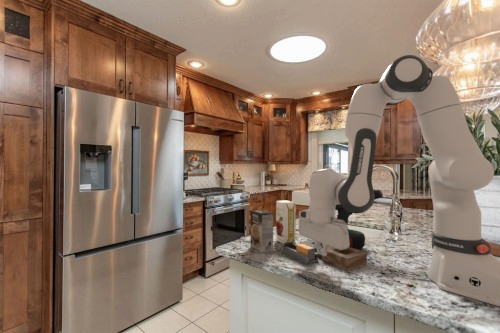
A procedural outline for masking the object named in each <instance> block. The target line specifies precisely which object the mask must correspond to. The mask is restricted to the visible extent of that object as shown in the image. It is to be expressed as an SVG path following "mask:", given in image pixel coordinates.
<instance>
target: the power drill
mask: <svg viewBox="0 0 500 333" xmlns="http://www.w3.org/2000/svg"><path fill="white" fill-rule="evenodd" d="M373 190H374V195H375V198H374V201H375V200H378V199H381V198H383V195H384V194H383V192H382V191H381V190H380V189H373ZM335 211H337V215H336V219H341V220H344V222H345V223H346V224H347V225H349V224H348V223H349V217H350V216H351V215H353V214H354V213H350V212H348V211H346V210H345V209H344V208H343V207H342V206H341V204H337V205H336V206H335ZM345 223H344V224H345ZM348 233H349V243H350V245H349V247H351V248H354V249H357V250H360V251H361V250H362V249H363V248H364V247H365V245H366V236H365V234H364V232H362V231H360V230H355V229H349V228H348Z"/></svg>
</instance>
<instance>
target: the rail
mask: <svg viewBox="0 0 500 333" xmlns="http://www.w3.org/2000/svg"><path fill="white" fill-rule="evenodd" d="M296 245H297V244H296V243H293V242H292V241H291V242H286V243H284V244H282V246H281V248H282V250H281V253H282V254H283V255H284V256H287V257H289V258H291V259H293V260H296V261H297V262H299V263H301V264H303V265H305V266H307V265H311V264H312V265H313V264H314V263H319V257H318V254H317V253H315V259H313V260H310V261H309V257H308V256H307V255H305V254H303V253H300V252H298V251H296Z"/></svg>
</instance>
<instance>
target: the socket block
mask: <svg viewBox="0 0 500 333" xmlns="http://www.w3.org/2000/svg"><path fill="white" fill-rule="evenodd" d="M299 244H305V245H308V246H310V247H313V248H315V253H317V248H316V246H315V245H314V240H312V239H309V240H304V241H300V242H299ZM321 247H322V249H323V246H321ZM330 247H331V246H330ZM319 258H320V259H322V255H319V254H318V259H319Z"/></svg>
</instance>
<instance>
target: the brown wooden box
mask: <svg viewBox="0 0 500 333" xmlns="http://www.w3.org/2000/svg"><path fill="white" fill-rule="evenodd" d="M321 260H322V261H324V262H327V263H329V264H331V265H334V266H335V267H338V268H340V269H342V270H345V271H349V270H352V269H356V268H358V267H361V266H365V265H367V263H368V252H366V251H363V250H361V249H360V250H357V249H354V248H351V247H348V248H347V249H344V250H339V249H337V248H334V247H329V248H328V250H327V255H326V256H322V257H321Z"/></svg>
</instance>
